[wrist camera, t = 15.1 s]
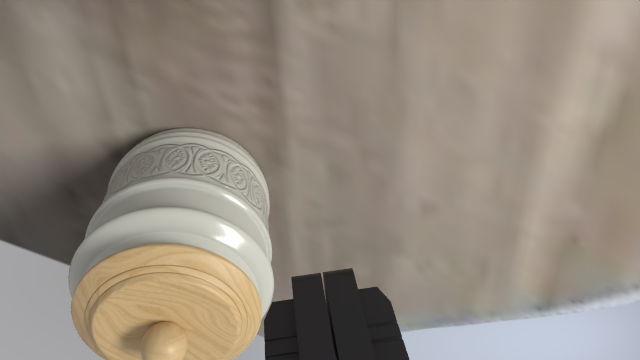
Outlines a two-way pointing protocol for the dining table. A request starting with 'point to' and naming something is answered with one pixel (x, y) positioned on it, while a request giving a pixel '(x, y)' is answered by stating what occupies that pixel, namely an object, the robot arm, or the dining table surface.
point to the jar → (176, 253)
